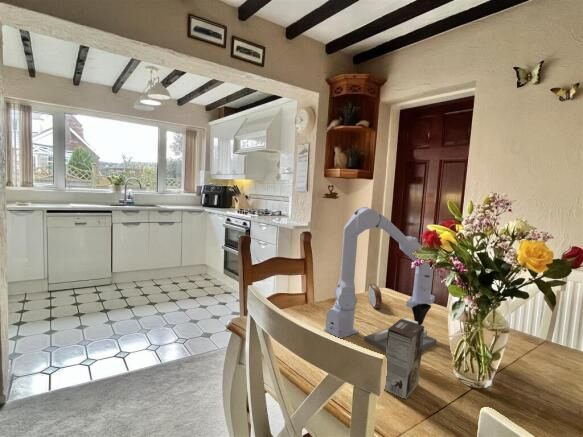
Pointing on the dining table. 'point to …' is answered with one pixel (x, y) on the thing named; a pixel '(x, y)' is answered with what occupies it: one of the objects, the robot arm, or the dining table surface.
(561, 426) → the dining table surface
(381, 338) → the switch plate
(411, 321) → the switch tab
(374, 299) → the clock
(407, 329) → the coffee box
